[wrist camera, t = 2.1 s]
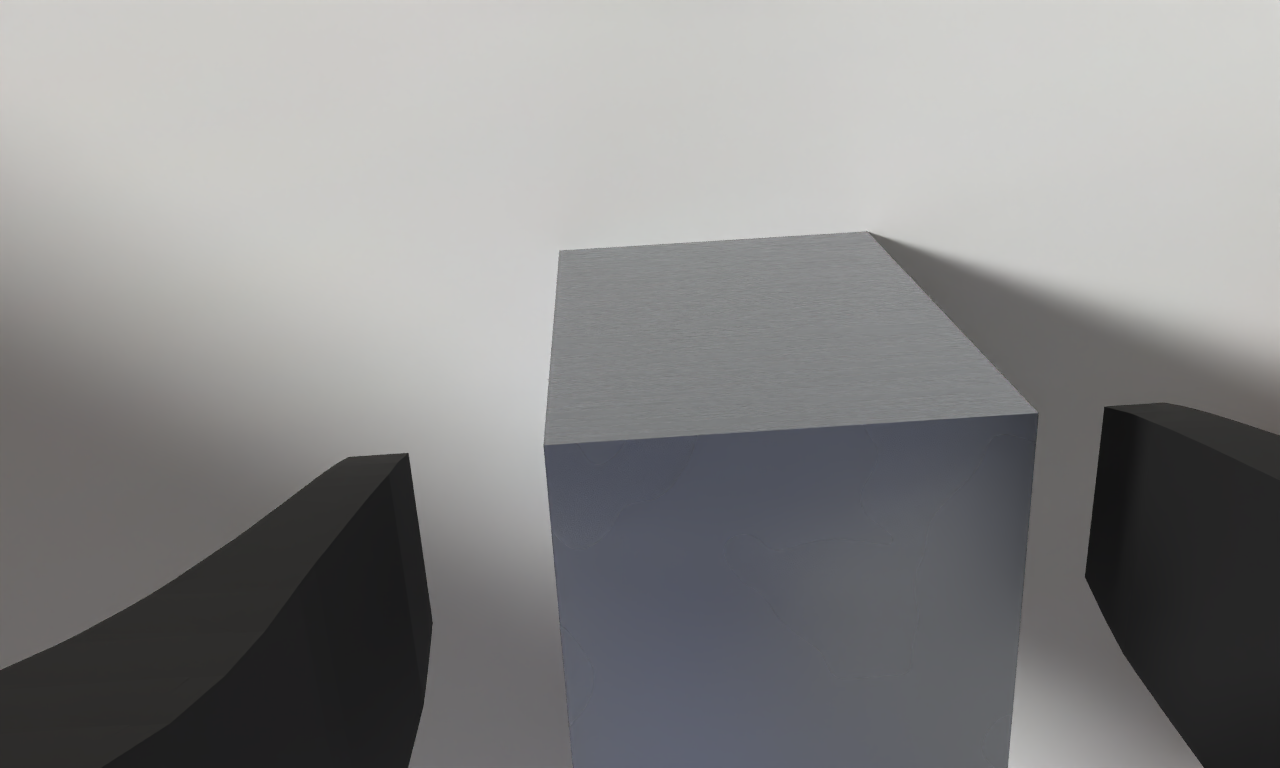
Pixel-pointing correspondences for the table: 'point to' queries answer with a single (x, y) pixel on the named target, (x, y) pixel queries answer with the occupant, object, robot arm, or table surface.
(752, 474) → the tall grey block
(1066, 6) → the table surface
